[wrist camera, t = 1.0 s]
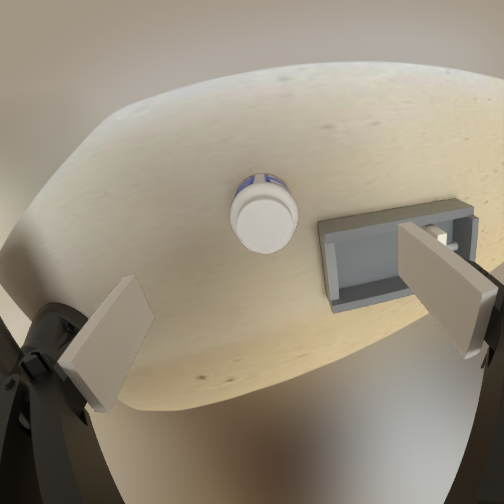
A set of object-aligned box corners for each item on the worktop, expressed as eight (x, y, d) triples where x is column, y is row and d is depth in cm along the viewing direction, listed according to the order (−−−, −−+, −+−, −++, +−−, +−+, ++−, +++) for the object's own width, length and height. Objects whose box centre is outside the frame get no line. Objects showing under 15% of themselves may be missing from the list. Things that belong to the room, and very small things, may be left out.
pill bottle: (241, 228, 30) (232, 269, 21) (231, 177, 28) (217, 197, 19) (293, 220, 29) (307, 258, 20) (286, 168, 27) (298, 184, 18)
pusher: (413, 271, 30) (433, 292, 25) (414, 219, 28) (437, 235, 23) (444, 263, 29) (466, 281, 25) (447, 213, 27) (471, 227, 22)
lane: (326, 295, 33) (334, 319, 28) (317, 222, 29) (326, 238, 25) (452, 265, 31) (471, 282, 26) (455, 198, 27) (479, 209, 23)
